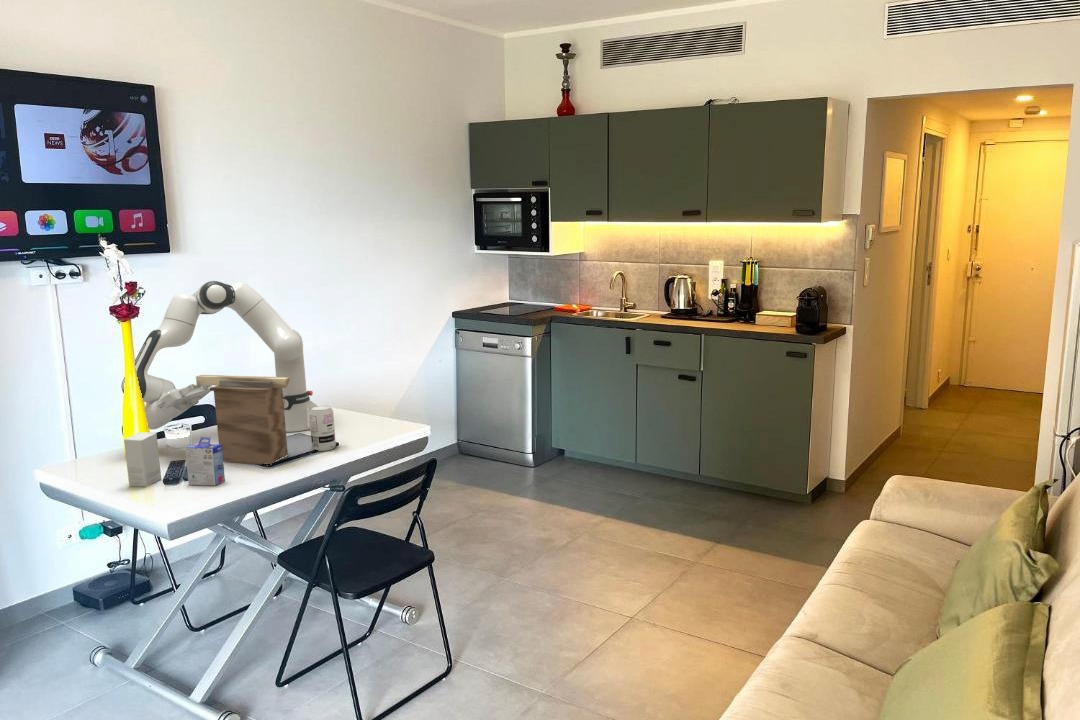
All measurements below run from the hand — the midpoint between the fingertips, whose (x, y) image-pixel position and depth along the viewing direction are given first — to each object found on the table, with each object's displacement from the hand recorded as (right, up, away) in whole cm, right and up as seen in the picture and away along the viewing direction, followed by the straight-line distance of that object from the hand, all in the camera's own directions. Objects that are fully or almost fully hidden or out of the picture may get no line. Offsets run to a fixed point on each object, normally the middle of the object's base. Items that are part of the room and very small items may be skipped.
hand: (202, 383), depth 290 cm
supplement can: (+39, -24, +10) cm, 47 cm away
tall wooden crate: (+18, -26, -1) cm, 32 cm away
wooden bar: (+16, -1, -5) cm, 16 cm away
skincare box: (-8, -31, -24) cm, 40 cm away
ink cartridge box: (+12, -31, -26) cm, 42 cm away
